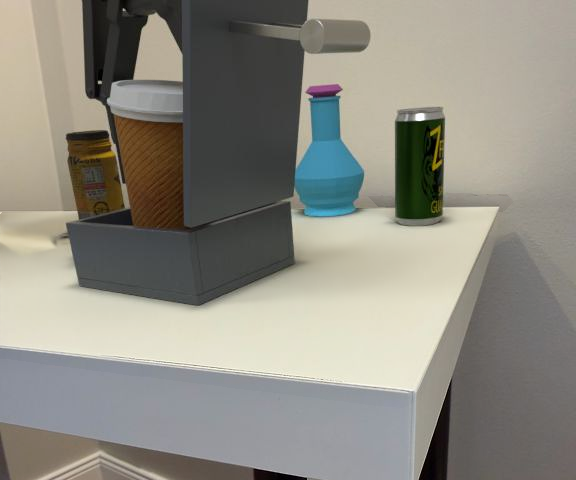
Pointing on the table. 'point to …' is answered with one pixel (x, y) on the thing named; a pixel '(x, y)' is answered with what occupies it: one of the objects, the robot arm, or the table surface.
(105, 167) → the condiment
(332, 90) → the perfume bottle
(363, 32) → the lid
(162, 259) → the gray storage case
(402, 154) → the beer can
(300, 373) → the table surface
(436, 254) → the table surface
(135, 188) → the disposable coffee cup
